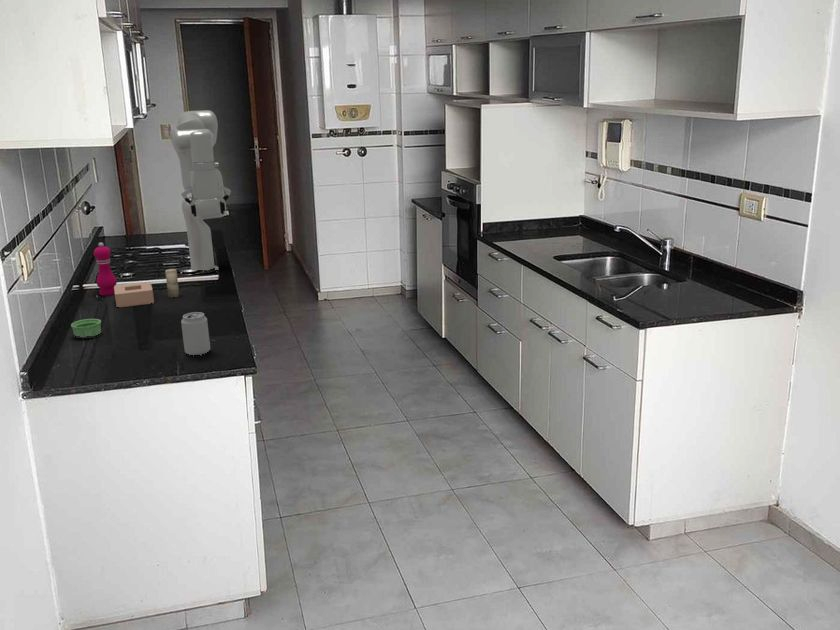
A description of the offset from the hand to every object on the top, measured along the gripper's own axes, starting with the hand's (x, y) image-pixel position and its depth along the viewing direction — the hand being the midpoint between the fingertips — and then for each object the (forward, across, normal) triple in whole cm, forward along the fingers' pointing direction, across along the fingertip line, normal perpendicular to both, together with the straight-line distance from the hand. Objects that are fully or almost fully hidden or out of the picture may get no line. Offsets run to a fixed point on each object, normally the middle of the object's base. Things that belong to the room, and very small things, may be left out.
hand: (208, 214), depth 289 cm
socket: (+31, +29, -10) cm, 44 cm away
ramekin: (+32, +45, +26) cm, 61 cm away
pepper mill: (+31, +38, -26) cm, 56 cm away
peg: (+31, +15, -10) cm, 36 cm away
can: (+31, +14, +59) cm, 68 cm away
